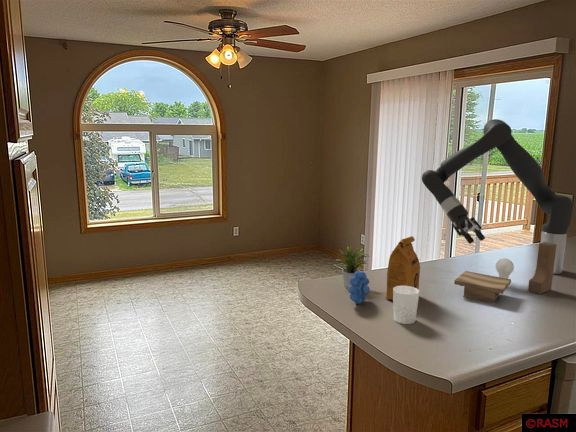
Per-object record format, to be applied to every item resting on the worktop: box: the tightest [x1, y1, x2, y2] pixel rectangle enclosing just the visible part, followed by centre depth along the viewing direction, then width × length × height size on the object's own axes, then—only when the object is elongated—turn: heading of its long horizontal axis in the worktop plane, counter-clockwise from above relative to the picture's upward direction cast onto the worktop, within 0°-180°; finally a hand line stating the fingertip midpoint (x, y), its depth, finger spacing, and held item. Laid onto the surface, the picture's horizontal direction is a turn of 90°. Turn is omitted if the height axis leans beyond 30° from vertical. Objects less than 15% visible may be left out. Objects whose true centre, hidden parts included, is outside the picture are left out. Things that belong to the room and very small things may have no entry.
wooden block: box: [527, 242, 557, 295], centre depth 162 cm, size 9×4×18 cm, turn 125°
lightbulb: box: [495, 257, 515, 279], centre depth 167 cm, size 6×6×11 cm
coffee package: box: [386, 235, 421, 301], centre depth 153 cm, size 10×12×22 cm
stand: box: [453, 270, 512, 303], centre depth 157 cm, size 14×16×6 cm
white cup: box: [392, 286, 420, 325], centre depth 136 cm, size 8×8×10 cm
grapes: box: [347, 270, 371, 305], centre depth 148 cm, size 12×7×12 cm, turn 139°
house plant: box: [336, 244, 370, 289], centre depth 164 cm, size 14×14×16 cm
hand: (477, 241), depth 174 cm, fingers open, 8 cm apart
